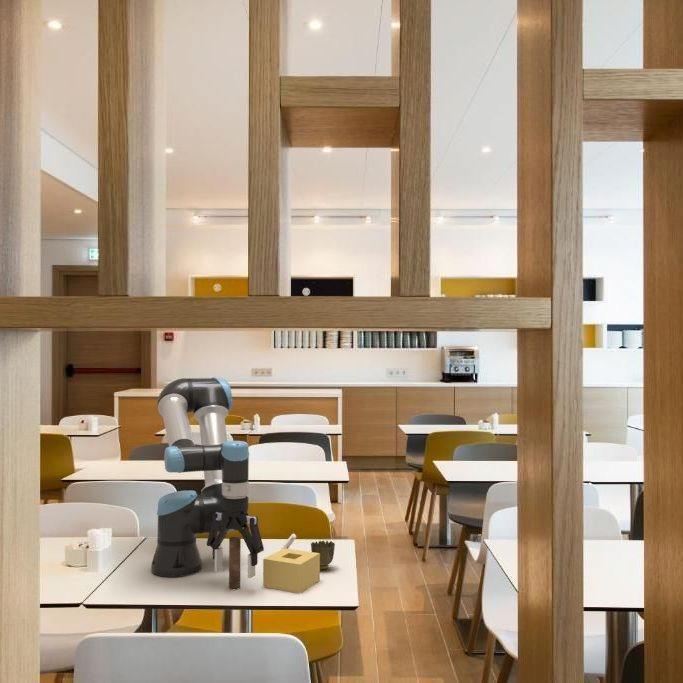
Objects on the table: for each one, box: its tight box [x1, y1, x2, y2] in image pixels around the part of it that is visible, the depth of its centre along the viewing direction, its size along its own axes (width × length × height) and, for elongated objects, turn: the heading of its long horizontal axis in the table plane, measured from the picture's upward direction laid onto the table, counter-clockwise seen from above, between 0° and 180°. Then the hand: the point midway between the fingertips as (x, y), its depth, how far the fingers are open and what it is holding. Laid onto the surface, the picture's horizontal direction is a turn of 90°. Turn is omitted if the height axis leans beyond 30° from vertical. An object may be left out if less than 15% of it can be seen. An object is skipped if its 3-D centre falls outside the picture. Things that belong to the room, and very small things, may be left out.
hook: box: [280, 533, 297, 550], centre depth 227 cm, size 8×12×7 cm
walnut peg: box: [228, 536, 242, 590], centre depth 206 cm, size 3×3×14 cm
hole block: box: [262, 548, 321, 594], centre depth 210 cm, size 12×12×8 cm
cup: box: [310, 540, 336, 571], centre depth 223 cm, size 8×7×8 cm
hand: (234, 574), depth 206 cm, fingers open, 10 cm apart
